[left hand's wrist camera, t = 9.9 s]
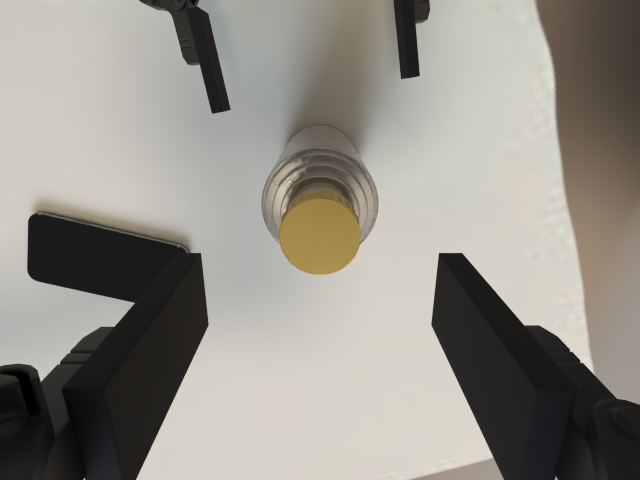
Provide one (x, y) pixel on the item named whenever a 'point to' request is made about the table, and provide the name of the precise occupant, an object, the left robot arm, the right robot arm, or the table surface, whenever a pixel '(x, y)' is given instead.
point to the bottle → (320, 176)
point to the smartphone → (95, 257)
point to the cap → (319, 232)
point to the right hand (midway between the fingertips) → (314, 95)
